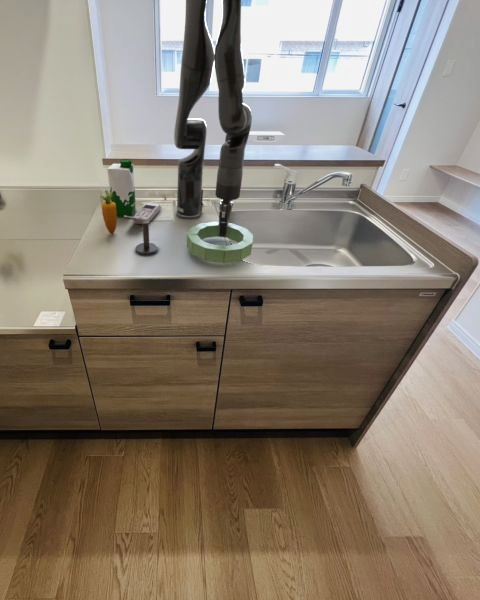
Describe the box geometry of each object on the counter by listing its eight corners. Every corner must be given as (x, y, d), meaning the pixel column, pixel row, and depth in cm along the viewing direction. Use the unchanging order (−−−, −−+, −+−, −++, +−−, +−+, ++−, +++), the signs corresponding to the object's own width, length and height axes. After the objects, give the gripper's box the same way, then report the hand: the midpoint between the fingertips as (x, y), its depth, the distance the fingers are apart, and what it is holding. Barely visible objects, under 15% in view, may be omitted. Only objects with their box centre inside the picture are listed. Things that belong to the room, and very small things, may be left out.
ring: (214, 228, 111) (215, 217, 109) (263, 247, 100) (265, 235, 97) (174, 246, 99) (174, 234, 97) (225, 269, 88) (226, 257, 86)
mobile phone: (122, 215, 108) (148, 192, 127) (124, 231, 112) (149, 207, 131) (139, 218, 107) (162, 194, 126) (139, 234, 111) (162, 209, 130)
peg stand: (147, 243, 105) (146, 215, 99) (162, 250, 101) (161, 222, 95) (131, 250, 101) (129, 222, 95) (145, 257, 97) (144, 229, 91)
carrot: (116, 238, 107) (111, 194, 98) (102, 237, 108) (96, 193, 99) (121, 232, 111) (117, 189, 102) (108, 231, 112) (102, 188, 103)
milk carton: (132, 218, 121) (128, 163, 109) (110, 217, 122) (103, 162, 110) (138, 210, 128) (135, 158, 116) (116, 209, 129) (111, 156, 117)
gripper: (239, 189, 89) (231, 244, 100) (243, 176, 100) (236, 227, 111) (213, 186, 91) (208, 241, 101) (220, 174, 102) (215, 224, 112)
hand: (223, 233), depth 106 cm, fingers closed on ring, 3 cm apart
